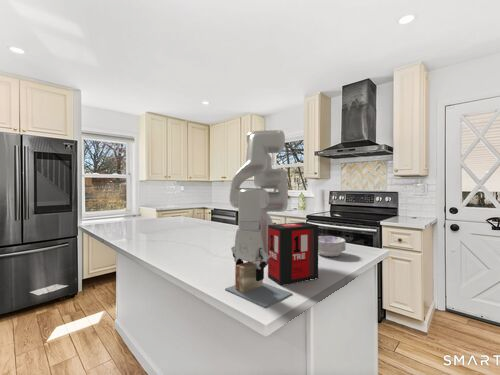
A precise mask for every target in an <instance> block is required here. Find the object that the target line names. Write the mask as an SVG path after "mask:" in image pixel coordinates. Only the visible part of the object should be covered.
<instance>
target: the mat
mask: <svg viewBox="0 0 500 375" xmlns="http://www.w3.org/2000/svg"><path fill="white" fill-rule="evenodd" d="M224 290H225V291H226V292H229V293H231V294H233V295H235V296H238V297H240V298H242V299H245V300H247V301H249V302H252V303H254V304H255V305H257V306H260V307H262V308H263V309H264V308H265V309H266V308H269V307H271V306H272V305H275V304H276V303H279V301H283V300H284V299H286V298H288V297H290V296H292V295H293V293H292V292H290V291H287V290H284V289H282V288H280V287H277V286H274V285H271V284H268V283H264V282H263V285H262V286H260V287H257V288H255V289H253V290H250V291H248V292H245V293H242V292H240V291H238V290H235V284H233V285H231V286H228V287H226V288H224Z"/></svg>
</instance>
